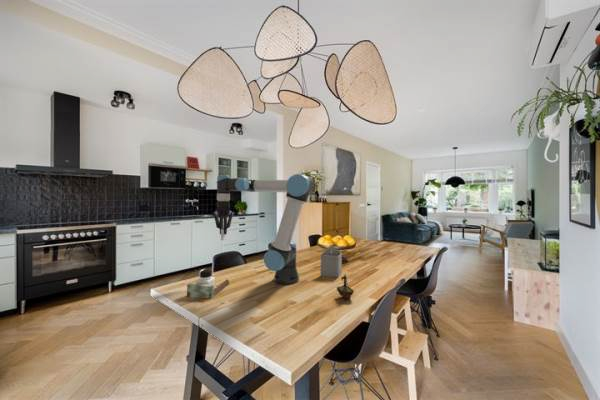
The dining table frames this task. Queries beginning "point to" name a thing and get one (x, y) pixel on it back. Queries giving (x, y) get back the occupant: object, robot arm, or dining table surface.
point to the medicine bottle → (206, 277)
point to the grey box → (331, 262)
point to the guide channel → (204, 290)
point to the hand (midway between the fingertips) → (223, 239)
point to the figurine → (345, 289)
